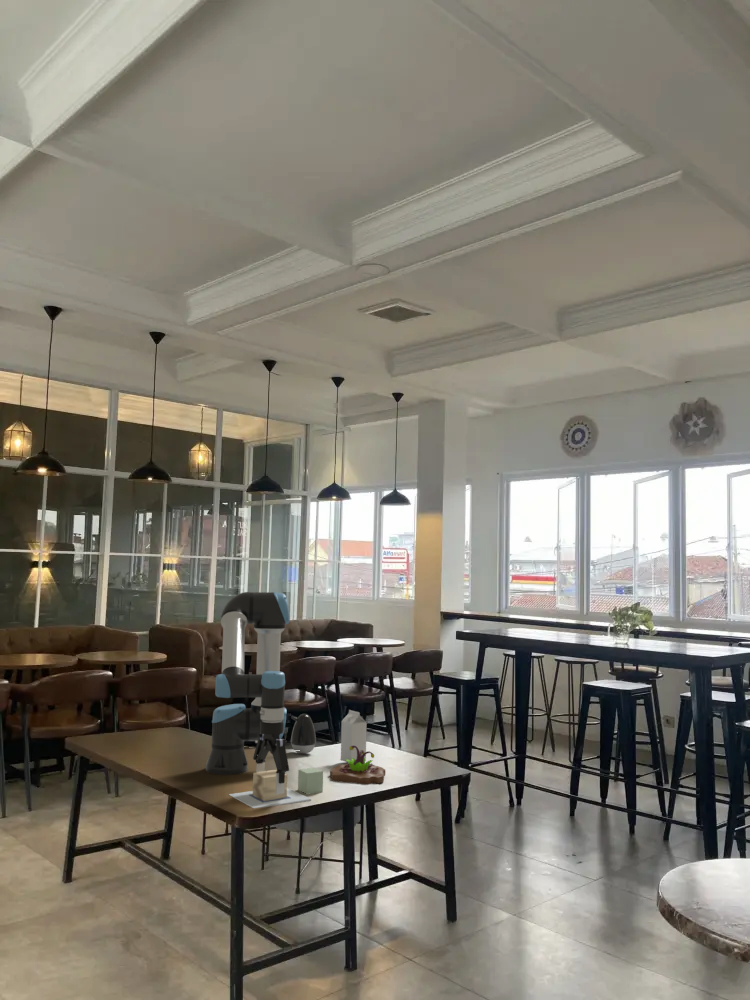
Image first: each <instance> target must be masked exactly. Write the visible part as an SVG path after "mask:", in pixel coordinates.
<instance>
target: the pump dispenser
mask: <svg viewBox="0 0 750 1000" xmlns="http://www.w3.org/2000/svg"><path fill="white" fill-rule="evenodd" d="M290 718H291V719H292V720H294V721H295V722H294V725H293V728H292V731H291V738H290V744H291V746H292V750H293V751H294V750H300V751H295V752H296V753H297V754H309V753H310V752H313V750H314V748H315V746H316V744H317V737H316V730H315V729H316V728H315V726H314V723H313V720H312V718H311V716H310V715H309V714H307V713H302V714H300V715H299V716H298V717H297V716H294V715H291V717H290Z"/></svg>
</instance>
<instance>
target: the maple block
mask: <svg viewBox="0 0 750 1000" xmlns="http://www.w3.org/2000/svg"><path fill="white" fill-rule="evenodd" d="M276 771H277V769H271V770H269V769H268V770H265V771H261V772H257V771H256V772H255V771H254V772H252V775H253V776H252V791H253V796H255V797H257V798H259V799H261V800H263V801H267V800H273V799H280V798H287V788H288V774H286V773H285V785H284V793H283V794H275V791H276Z"/></svg>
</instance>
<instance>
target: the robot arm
mask: <svg viewBox="0 0 750 1000" xmlns="http://www.w3.org/2000/svg"><path fill="white" fill-rule="evenodd" d="M287 597H288V596H287V595H286V594H285V593H283V592H274V591H273V592H272V591H271V592H268V591H267V592H265V591H263V592H262V591H259V592H255V591H254V592H253V591H252V592H251V591H244V592H240V593H238V594H236V595H234V597H232V598H231V599H230V600H228V602H227V603H226V605H224V606H223V609H222V611H221V615H220V625H221V627H222V628H223V630H222V633H223V634H222V655H221V656H222V657H221V658H222V659H221V673H220V674H216V675H215V693H214V694H215V697H217V698H224V699H229V698H235V699H237V698H255V699H254V700H253V701H252V702H251V704H250V705H251V706H250V708H248V707H247V708H246V705H245V704H244V703H233V704H225V705H221V706H218V707H217V708H215V709H214V710H213V713H212V720H211V723H212V729H211V732H212V733H211V748H210V753H209V755H208V758H207V761H206V764H205V772H206V771H207V772H206V773H208V772H209V774H212V775H218V774H219V775H220V776H226V775H227V776H234V775H233V774H235V775H241V774H244V772H245V773H247V772H248V770H249V763H248V759H247V755H246V752H245V747H244V745H245V742H255V741H258V742H257V743H256V746H255V750H254V754H253V760H254V761H255V764H256V772H261V771H266V762H267V761H266V757H267V756H268V754H269V752H270V754H271V755H272V757H273V761H274V764H275V768H276V770H277V771H276V791H275V794H283V793H284V785H285V774H286V773H287V772H289V771H290V768H289V767H290V766H289V761H288V756H287V750H286V739H285V738H283V736H284V734H285V728H286V722H287V721H286V720H287V714H288V713H287V708H286V707H285V694H286V693H285V690H286V689H285V688H286V676H285V675H286V674H285V673H284V672H283V671H280V670H281V668H280V667H281V643H282V642H281V640H282V639H281V638H282V637H281V636H282V633H283V632H284V630H285V629H286V625H287V626H288V624H289V623H290V613H289V612H290V611H289V603H288V599H287ZM248 624H249V625H253V629H254V631H255V633H257V644H256V646H257V647H256V648H257V649H256V670H255V671H256V674H249V673H248V674H247V673H246V674H245V642H246V641H245V635H246V634H245V633H246V632H245V631H246V630H245V629H246V627H247V625H248ZM240 773H241V774H240Z"/></svg>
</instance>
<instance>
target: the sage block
mask: <svg viewBox="0 0 750 1000" xmlns="http://www.w3.org/2000/svg"><path fill="white" fill-rule="evenodd" d="M297 771H298V773H297V774H298V777H297V778H298V779H297V791H299V792H301V791H302V792H301V793H303V792H304V794H305V793H306V795H310V794H309V793H312V794H316V793H317V794H319V793H318V792H320V793H323V790H324V771H323V770H321V769H318V768H316V767H309V768H302V769H300V768H299V769H298V770H297Z"/></svg>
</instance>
